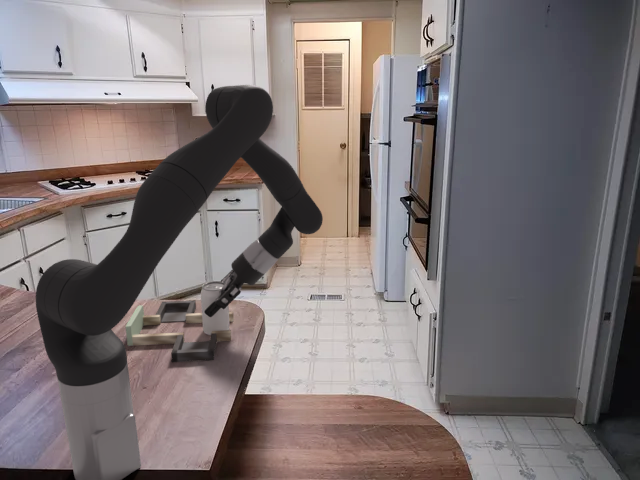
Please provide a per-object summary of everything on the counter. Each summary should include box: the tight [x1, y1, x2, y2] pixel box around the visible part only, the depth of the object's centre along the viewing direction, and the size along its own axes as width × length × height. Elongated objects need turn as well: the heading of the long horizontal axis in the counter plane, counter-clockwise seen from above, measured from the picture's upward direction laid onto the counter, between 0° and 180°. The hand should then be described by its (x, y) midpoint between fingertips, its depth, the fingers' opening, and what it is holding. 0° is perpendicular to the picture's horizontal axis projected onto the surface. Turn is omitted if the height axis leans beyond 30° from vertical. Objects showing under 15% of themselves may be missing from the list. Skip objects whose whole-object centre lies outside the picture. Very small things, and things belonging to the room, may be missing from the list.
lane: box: [127, 300, 235, 363], centre depth 112 cm, size 24×28×2 cm
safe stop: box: [125, 304, 145, 347], centre depth 111 cm, size 1×11×5 cm, turn 7°
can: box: [200, 281, 230, 337], centre depth 112 cm, size 6×6×12 cm
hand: (209, 307), depth 112 cm, fingers open, 7 cm apart
